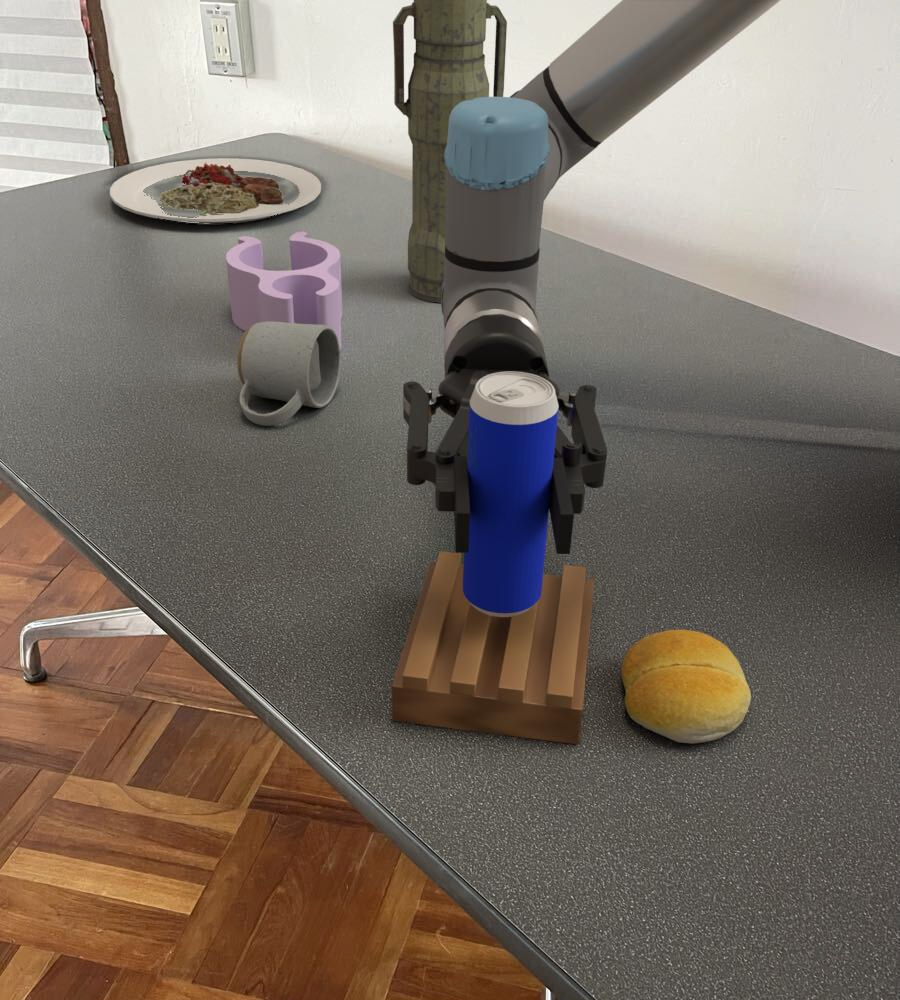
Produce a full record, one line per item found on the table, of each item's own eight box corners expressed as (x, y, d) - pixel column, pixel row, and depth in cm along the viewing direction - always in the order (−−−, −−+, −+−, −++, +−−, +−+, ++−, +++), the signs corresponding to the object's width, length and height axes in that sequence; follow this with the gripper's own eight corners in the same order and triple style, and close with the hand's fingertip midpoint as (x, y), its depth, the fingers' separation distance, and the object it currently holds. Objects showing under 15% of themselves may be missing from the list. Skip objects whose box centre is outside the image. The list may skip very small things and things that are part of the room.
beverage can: (503, 565, 74) (517, 361, 64) (556, 600, 70) (578, 392, 61) (446, 593, 71) (451, 384, 62) (498, 631, 68) (512, 417, 59)
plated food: (182, 248, 139) (179, 222, 137) (74, 194, 157) (69, 170, 155) (363, 205, 156) (362, 180, 154) (247, 160, 173) (245, 138, 171)
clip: (367, 354, 114) (365, 291, 110) (250, 367, 111) (243, 302, 107) (327, 287, 129) (325, 229, 125) (223, 296, 126) (217, 237, 122)
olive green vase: (389, 280, 132) (384, -52, 111) (482, 273, 134) (495, -52, 113) (403, 307, 125) (402, -41, 104) (501, 300, 127) (518, -42, 106)
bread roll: (628, 747, 68) (636, 700, 65) (615, 656, 75) (622, 611, 72) (759, 752, 68) (772, 705, 65) (734, 660, 75) (744, 615, 72)
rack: (590, 612, 79) (596, 567, 76) (578, 745, 68) (584, 697, 65) (429, 594, 80) (430, 549, 78) (392, 721, 69) (391, 674, 67)
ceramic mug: (269, 375, 109) (262, 302, 105) (344, 387, 108) (340, 314, 103) (220, 422, 101) (210, 346, 97) (300, 436, 100) (293, 360, 95)
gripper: (610, 409, 82) (662, 588, 64) (373, 405, 82) (356, 585, 63) (622, 315, 78) (682, 479, 59) (371, 310, 77) (352, 474, 59)
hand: (514, 533), depth 61 cm, fingers closed on beverage can, 5 cm apart
